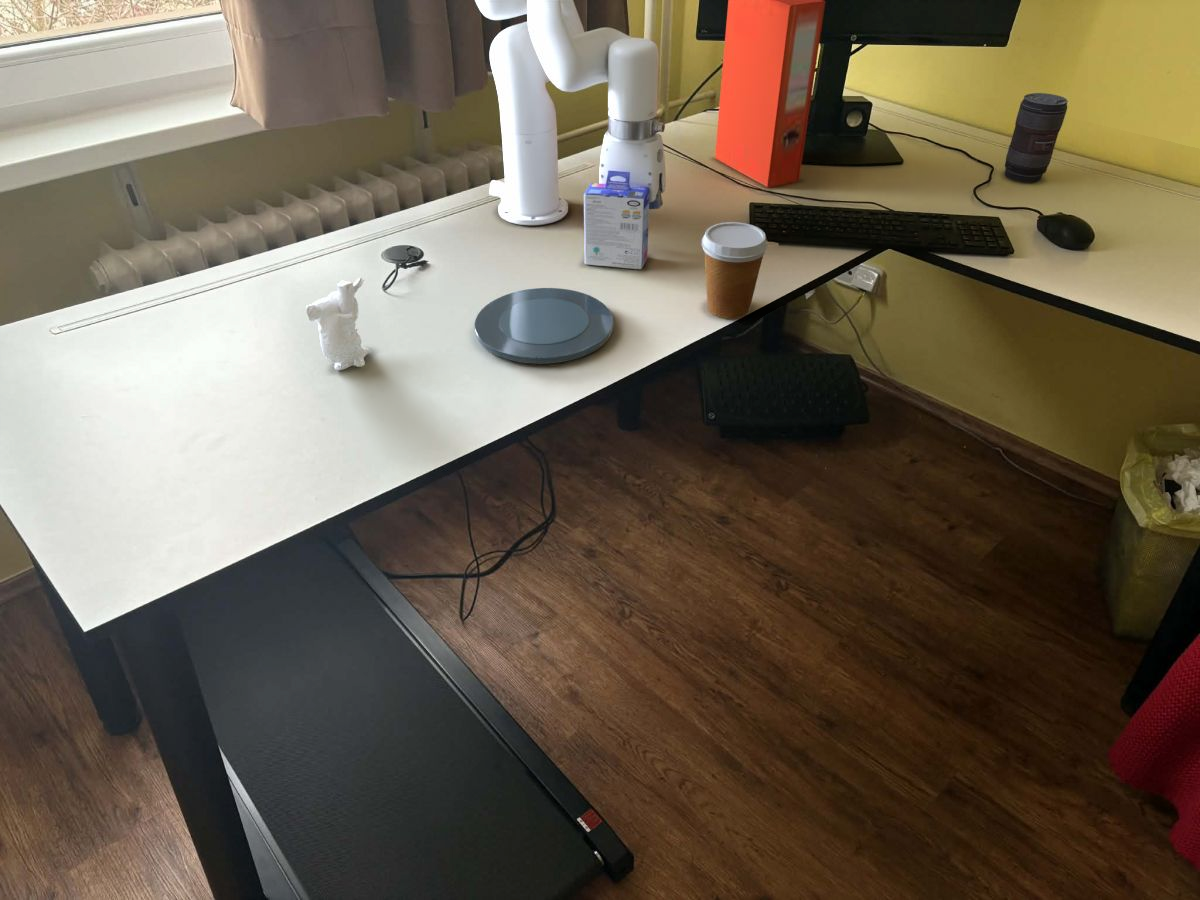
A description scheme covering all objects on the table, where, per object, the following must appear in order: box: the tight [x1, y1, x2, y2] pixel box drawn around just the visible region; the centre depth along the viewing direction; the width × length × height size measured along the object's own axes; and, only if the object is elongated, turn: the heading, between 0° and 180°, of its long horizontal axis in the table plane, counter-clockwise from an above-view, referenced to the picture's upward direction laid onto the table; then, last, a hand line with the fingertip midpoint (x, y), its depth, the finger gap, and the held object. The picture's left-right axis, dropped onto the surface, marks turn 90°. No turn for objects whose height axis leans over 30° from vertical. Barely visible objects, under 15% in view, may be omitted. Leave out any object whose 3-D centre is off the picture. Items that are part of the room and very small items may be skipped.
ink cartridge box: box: [583, 171, 650, 270], centre depth 144 cm, size 10×6×14 cm, turn 78°
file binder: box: [714, 0, 826, 189], centre depth 169 cm, size 8×17×32 cm, turn 29°
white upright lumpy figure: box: [305, 277, 370, 371], centre depth 120 cm, size 8×7×12 cm
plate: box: [474, 287, 614, 365], centre depth 130 cm, size 20×20×2 cm
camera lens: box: [1004, 92, 1069, 184], centre depth 171 cm, size 8×8×15 cm
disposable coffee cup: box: [700, 221, 769, 320], centre depth 132 cm, size 10×10×12 cm
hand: (630, 236), depth 150 cm, fingers closed
